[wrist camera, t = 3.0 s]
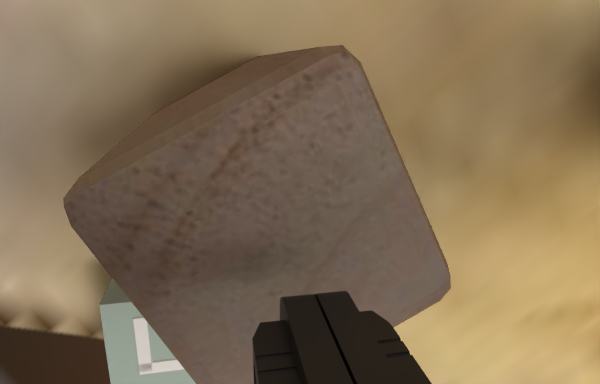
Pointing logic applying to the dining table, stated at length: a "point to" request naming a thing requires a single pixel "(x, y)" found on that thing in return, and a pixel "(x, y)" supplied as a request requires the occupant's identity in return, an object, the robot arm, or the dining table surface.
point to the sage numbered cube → (135, 345)
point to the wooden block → (259, 209)
